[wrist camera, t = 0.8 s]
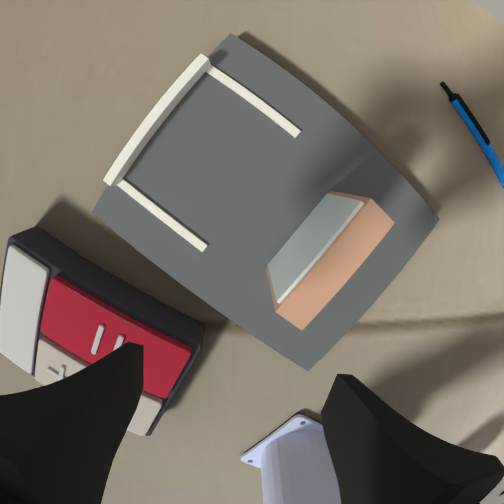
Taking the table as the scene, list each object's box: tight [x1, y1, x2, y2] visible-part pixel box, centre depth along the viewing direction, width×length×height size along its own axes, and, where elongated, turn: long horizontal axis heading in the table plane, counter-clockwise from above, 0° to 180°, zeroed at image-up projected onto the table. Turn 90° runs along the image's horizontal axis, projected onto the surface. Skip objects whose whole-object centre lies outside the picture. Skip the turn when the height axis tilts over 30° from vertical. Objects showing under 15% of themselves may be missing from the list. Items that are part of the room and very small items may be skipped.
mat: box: [92, 34, 439, 371], centre depth 17 cm, size 18×14×2 cm
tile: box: [266, 191, 395, 330], centre depth 15 cm, size 2×6×6 cm, turn 141°
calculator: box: [0, 226, 204, 436], centre depth 19 cm, size 11×4×15 cm
